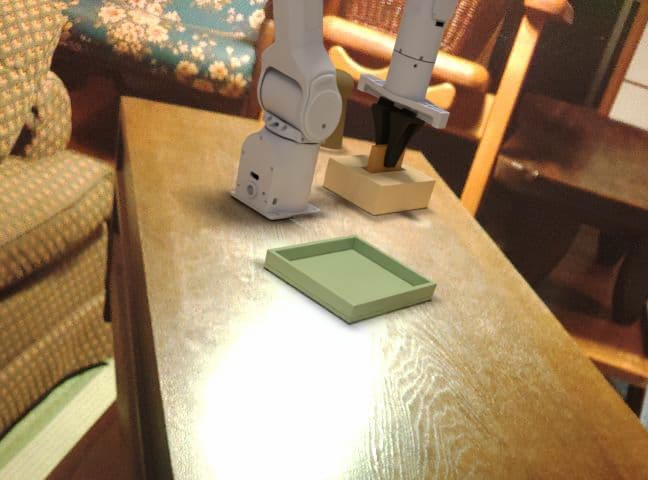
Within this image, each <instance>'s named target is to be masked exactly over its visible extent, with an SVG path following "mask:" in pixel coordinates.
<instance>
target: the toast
mask: <svg viewBox="0 0 648 480" xmlns="http://www.w3.org/2000/svg"><path fill="white" fill-rule="evenodd" d="M387 145H388V144H386V145H375V144H372V145H371V148H370V152H369V154H370V155H369V159H368V163H367V167H366V171H368V172H369V173H382V172H393V171H400V169H401V166H402V162H403V163H404V158H405V154H406V152H407V148H408V145H407V146H406V148H405V150H404V151H403V153H402V155H401V157H400V158H399V160H398V162H397V164H396V166H395V167H393V168H386V167H384V166H383V165H384V157H385V153H386V149H387Z"/></svg>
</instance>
